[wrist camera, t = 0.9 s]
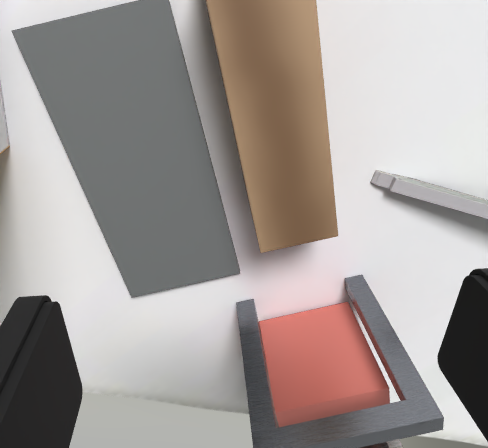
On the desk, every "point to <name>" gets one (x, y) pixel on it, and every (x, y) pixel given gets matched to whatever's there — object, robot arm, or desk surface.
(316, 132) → the brown wooden block
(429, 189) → the caliper
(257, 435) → the frame
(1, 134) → the packaging box
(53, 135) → the desk surface
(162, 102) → the rest mat
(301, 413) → the button
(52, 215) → the desk surface
